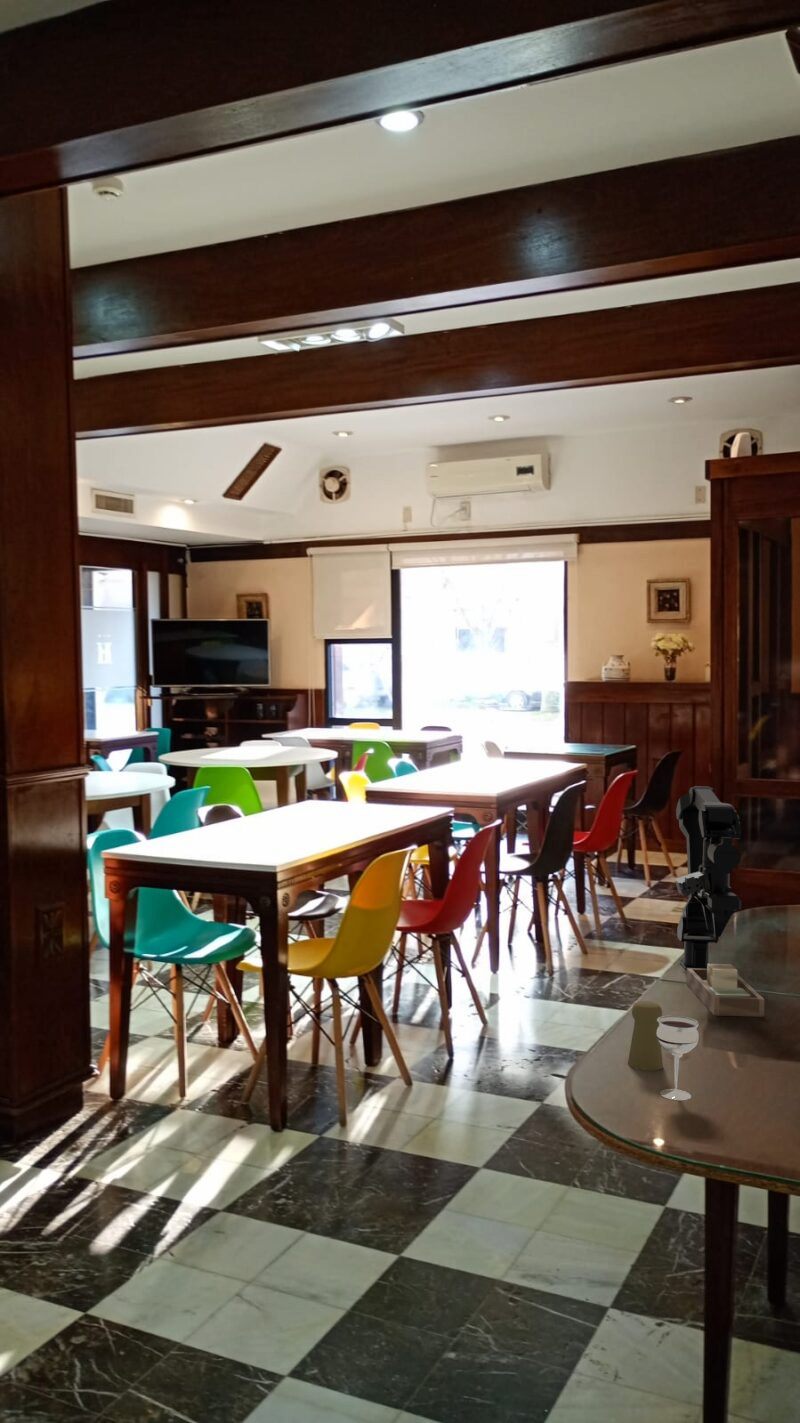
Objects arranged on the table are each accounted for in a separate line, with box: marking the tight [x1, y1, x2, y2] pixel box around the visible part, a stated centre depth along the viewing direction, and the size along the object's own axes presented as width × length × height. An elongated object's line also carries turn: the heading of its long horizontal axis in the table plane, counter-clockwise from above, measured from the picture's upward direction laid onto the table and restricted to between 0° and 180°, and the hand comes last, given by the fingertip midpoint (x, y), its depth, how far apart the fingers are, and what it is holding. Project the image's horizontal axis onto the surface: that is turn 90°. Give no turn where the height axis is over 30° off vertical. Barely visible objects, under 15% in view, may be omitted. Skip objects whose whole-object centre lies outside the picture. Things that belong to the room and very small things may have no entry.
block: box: [707, 963, 739, 989], centre depth 245 cm, size 5×5×4 cm
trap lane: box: [685, 968, 765, 1017], centre depth 243 cm, size 23×10×4 cm, turn 0°
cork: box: [627, 1000, 664, 1072], centre depth 202 cm, size 6×6×11 cm
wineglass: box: [656, 1015, 700, 1101], centre depth 188 cm, size 7×7×12 cm
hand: (713, 933), depth 252 cm, fingers open, 6 cm apart
